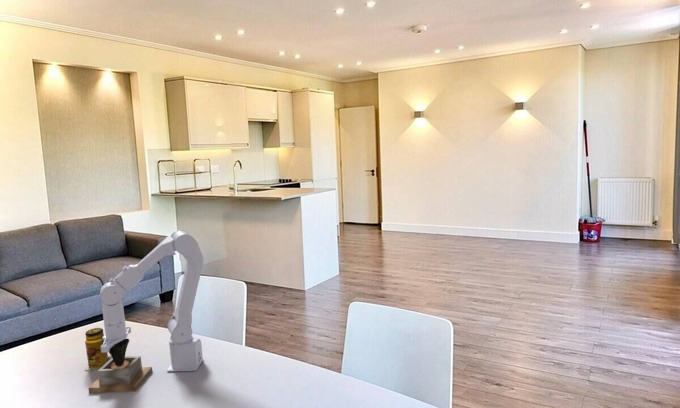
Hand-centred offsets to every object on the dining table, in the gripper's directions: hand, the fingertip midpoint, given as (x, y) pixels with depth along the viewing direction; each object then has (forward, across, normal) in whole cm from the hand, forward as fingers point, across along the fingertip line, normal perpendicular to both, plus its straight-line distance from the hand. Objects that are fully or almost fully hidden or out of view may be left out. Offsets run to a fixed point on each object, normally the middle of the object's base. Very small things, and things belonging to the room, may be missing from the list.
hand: (119, 364), depth 146 cm
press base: (+6, 0, 0) cm, 6 cm away
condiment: (+6, -13, -14) cm, 20 cm away
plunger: (+4, 0, 0) cm, 4 cm away
